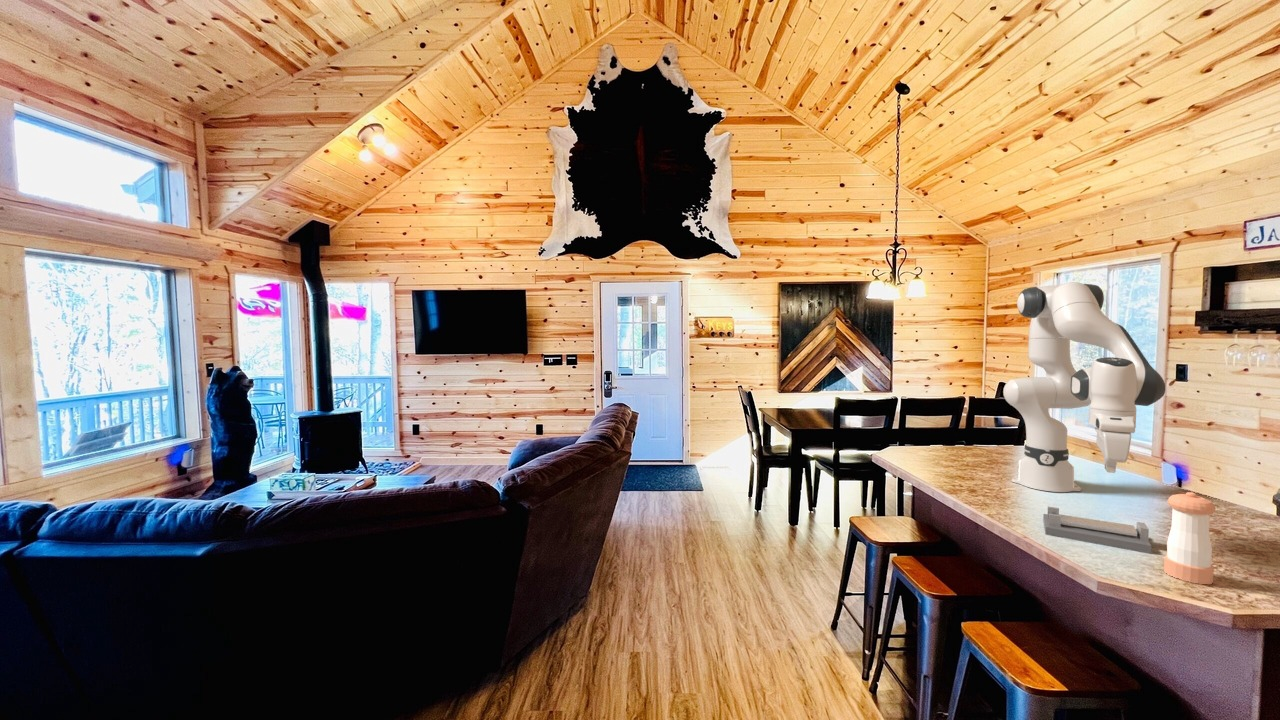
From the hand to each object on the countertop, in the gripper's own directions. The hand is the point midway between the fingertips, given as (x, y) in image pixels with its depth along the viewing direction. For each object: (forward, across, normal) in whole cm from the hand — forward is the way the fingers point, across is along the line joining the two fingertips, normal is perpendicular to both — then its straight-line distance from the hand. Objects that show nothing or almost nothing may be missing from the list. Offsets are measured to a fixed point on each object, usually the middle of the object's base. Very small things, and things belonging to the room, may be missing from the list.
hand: (1109, 471), depth 127 cm
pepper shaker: (+18, +17, +11) cm, 27 cm away
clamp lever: (+16, 0, -3) cm, 16 cm away
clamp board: (+18, 0, -3) cm, 18 cm away
